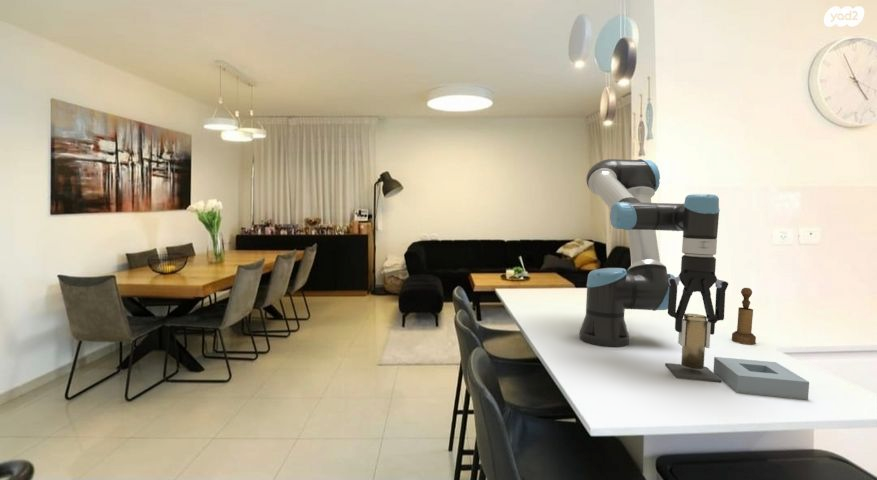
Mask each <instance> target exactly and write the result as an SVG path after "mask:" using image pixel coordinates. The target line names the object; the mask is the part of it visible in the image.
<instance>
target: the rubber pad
mask: <svg viewBox="0 0 877 480" xmlns="http://www.w3.org/2000/svg"><path fill="white" fill-rule="evenodd" d="M664 364H665V365H664V366H665V367H666V368H667V369H668V370H669V371H670V372H671V373H672V374H673V376H674V377H675V378H676V379H681V380H683V379H684V380H691V381H692V380H693V381H702V382H713V383H722V382H723V380H722V379H721V378H720V377H719V376H718V375H716V374H715V373H714V372H713V371H712V370H711V369H710V368H709V367H707V366H704V368H703V369H693V368H688V367H685V366H683V365H682V364H681V363H672V362H671V363H670V362H665V363H664Z"/></svg>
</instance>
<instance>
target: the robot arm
mask: <svg viewBox="0 0 877 480" xmlns="http://www.w3.org/2000/svg"><path fill="white" fill-rule="evenodd" d="M585 180H586V185H587V188H588V189H589V190H590V191H591V192H592V193H593V194H595V195H597V196H599V197H600V199H601V200H602V201H603V202H604V204H605V205H606V206H607V207H608V209H610V212H609V220H610V224H611V226H612V228H613V229H617V230H624V231H627V238H628V245H629V252H630V253H629V254H630V255H629V256H630V260H631V261H630V263H631V265H630V266H629V267H628V268H627V269H626V268H624V267H623V268H622V267H605V268H603V267H602V268H597V269H596V268H595V269H593V270H591V271H590V272H589V273H588V275H587V281H586V301H585V302H586V303H585V304H586V305H585V317H584V319H583V320H582V321H583V322H582V323H581V326H580V329H579V331H578V332H579V335H578V336H579V337H578V338H579V339H580V340H581V341H583V342H585V343H589V344H592V345H596V346H601V347H602V346H605V347H624V346H628V345H629V344H630V335H629V332H628V328H627V325H626V321H625V320H626V319H625V310H644V311H652V312H654V311H666V310H667V314H668V316H670V317H672V318H674V320H675V321H674V330H675V331H676V332H677V333H678V337H677V338H678V340H677V341H678V342H677V343H678V344H679V345H680V346H681V347H682V346H685V332H686V321H685V320H684V314H686V311H687V308H688V305H689V303H690V300H691V297H692V295H693V294H694V293H697V292H699V293H700V294H701V298H702V302H703V307H704V311H705V316H706V317H707V321H706V338H705V349H710V346H711V345H710V344H711V343H710V342H711V335H715V329H716V323H717V322H718V321H724V319H725V310H726V309H725V308H726V307H725V306H726V305H725V303H726V290H727V289H728V286H729V282H728V281H725V280H723V279H722V280H721V279H718V278H717V275H716V265H717V259H716V257H715V256H716V255H717V244H718V229H719V220H720V219H719V217H720V210H721V209H720V198H719V196H718V195H716V194H710V193H709V194H706V193H703V194H702V193H700V194H698V193H696V194H693V193H692V194H688V195H686V196H685V198H684V203H669V202H668V203H665V202H663V203H662V202H661V203H659V202H657V203H656V202H652V198H653V197H654V196H655V194H656V192H657V191H658V189H659V188H660V182H661V181H660V180H661V174H660V170H659V167H658V165H657V164H656V162H654V161H652V160H649V159H642V158H639V159H621V158H620V159H614V158H608V159H603V160H600V161H599V162H596V163H595V164H594V165H592V166H591V168H589V169H588V171H587V174H586V178H585ZM657 231H671V232H682V244H681V253H682V254H683V255H682V256H681V264H680V273H679V274H678V276H674V274H671V273H668V270H667V269H668V268H667V266H666V265H665V264H664V263H662V262H661V259H660V253H659V244H658V240H657V239H658V237H657ZM679 282H681V284H682V285H683V290H682V295H681V297H680V300H679V303H678V305H677V299H678V287H679V284H680V283H679ZM714 284H715V305H713V301H712V297H711V296H712V293H711V290H710V289H711V288H712V287H713V286H714ZM714 307H715V308H714Z"/></svg>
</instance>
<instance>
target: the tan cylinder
mask: <svg viewBox="0 0 877 480" xmlns="http://www.w3.org/2000/svg"><path fill="white" fill-rule="evenodd" d="M683 319H684V320H685V321H686V332H685V346H681V347H682V348H681V363H680V364H682V365H683V366H685V367H688V368H693V369H703V368H704V367H705V355H706V353H705V352H706V347H705V338H706V321H708V319H707V316H706V315H703V314H698V313H685V314H684V317H683Z"/></svg>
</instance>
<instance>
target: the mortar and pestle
mask: <svg viewBox="0 0 877 480" xmlns="http://www.w3.org/2000/svg"><path fill="white" fill-rule="evenodd" d="M740 293H741V295H742V298H743V299H742V301H741V304H742V306H741V307H738V312H737V314H738V315H737V326H736V331H734V332H732V333H731V340H732V341H733V342H735V343H738V342H739V344H742V343H745V344H744V345H751V346H752V345H756V340H757V339H756V338H757V337H756V336H755V335H754V333H752V329H753V328H752V327H753V316H754V309H753V308H750V305H751V301H750V297H752V294H753V291H752V289H751V288H750V287H743V288H742V289H741V291H740Z"/></svg>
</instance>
